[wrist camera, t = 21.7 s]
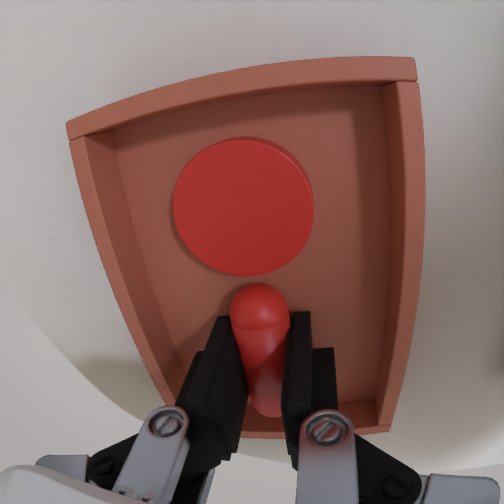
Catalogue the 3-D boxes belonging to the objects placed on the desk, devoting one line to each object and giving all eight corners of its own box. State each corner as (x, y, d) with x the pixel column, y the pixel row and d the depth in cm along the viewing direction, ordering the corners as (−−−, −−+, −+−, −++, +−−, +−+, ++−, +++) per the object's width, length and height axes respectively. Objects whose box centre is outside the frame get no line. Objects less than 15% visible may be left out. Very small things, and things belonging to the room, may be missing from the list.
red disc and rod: (172, 148, 9) (145, 158, 7) (304, 128, 8) (305, 132, 6) (234, 391, 13) (226, 424, 11) (323, 390, 12) (324, 425, 10)
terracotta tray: (101, 116, 9) (64, 122, 7) (392, 67, 7) (415, 56, 5) (192, 401, 14) (180, 432, 12) (383, 397, 12) (389, 432, 11)
